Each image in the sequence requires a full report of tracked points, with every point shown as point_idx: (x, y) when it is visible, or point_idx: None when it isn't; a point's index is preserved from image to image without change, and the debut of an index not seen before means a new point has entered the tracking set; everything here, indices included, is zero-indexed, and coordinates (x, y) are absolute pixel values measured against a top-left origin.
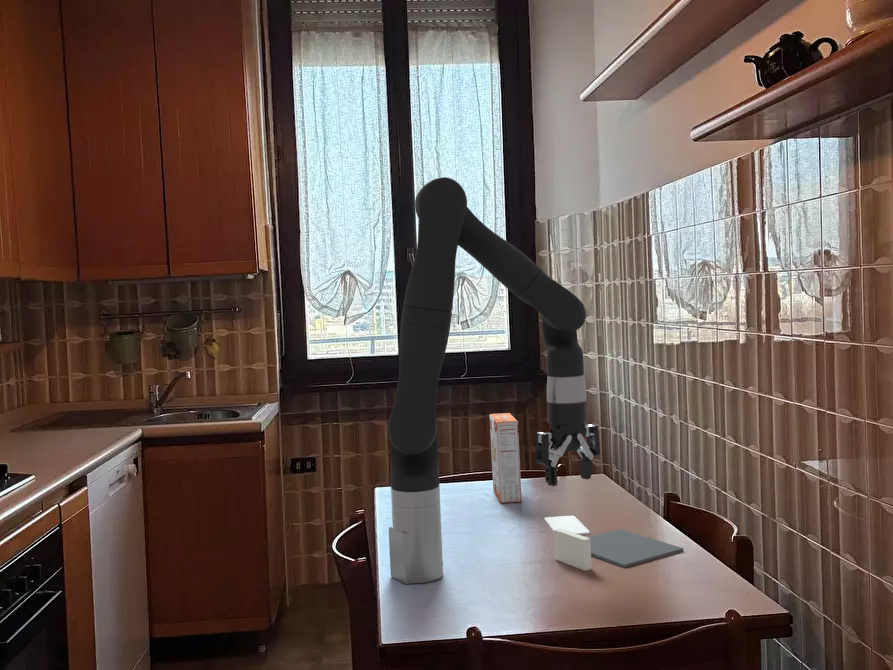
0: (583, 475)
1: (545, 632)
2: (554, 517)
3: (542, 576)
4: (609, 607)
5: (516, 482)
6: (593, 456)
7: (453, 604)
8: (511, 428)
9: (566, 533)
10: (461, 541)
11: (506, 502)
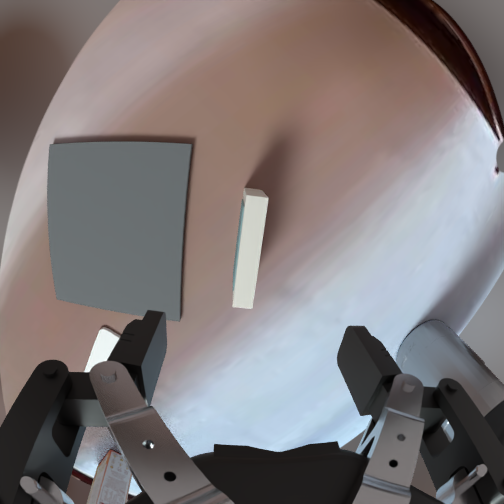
0: (163, 343)
1: (467, 90)
2: None
3: (339, 227)
4: (369, 53)
5: (110, 470)
6: (91, 369)
7: (472, 239)
8: None
9: (254, 267)
10: (282, 418)
11: None
